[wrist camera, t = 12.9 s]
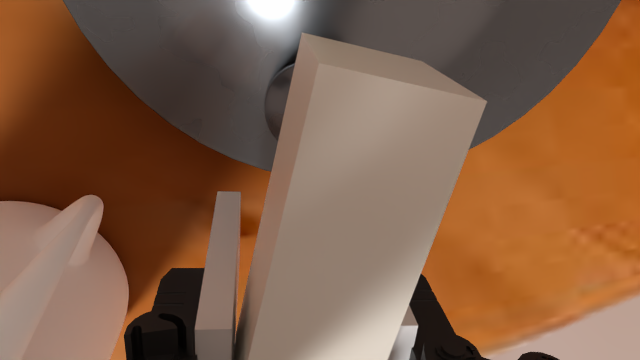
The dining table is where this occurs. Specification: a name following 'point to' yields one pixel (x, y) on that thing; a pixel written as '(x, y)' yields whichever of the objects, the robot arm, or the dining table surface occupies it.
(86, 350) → the mug
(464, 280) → the dining table surface
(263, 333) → the handle
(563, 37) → the base
